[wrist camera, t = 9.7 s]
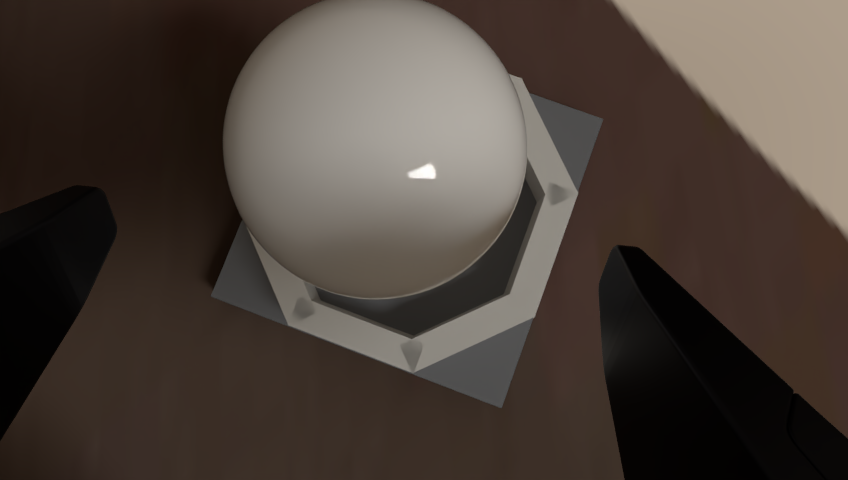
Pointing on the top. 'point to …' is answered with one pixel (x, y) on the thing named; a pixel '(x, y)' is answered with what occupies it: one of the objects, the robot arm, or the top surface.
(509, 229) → the bulb stand
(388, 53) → the lightbulb
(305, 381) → the top surface
